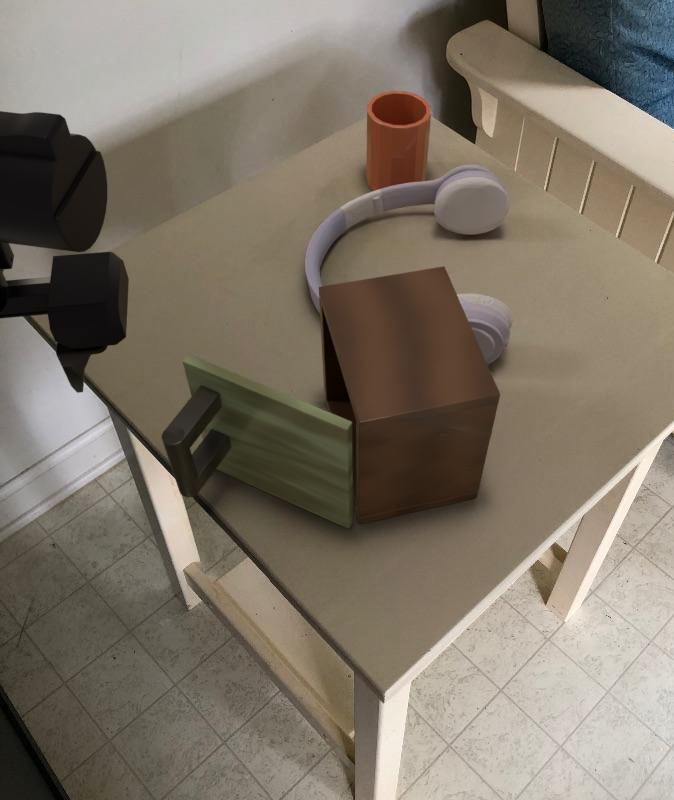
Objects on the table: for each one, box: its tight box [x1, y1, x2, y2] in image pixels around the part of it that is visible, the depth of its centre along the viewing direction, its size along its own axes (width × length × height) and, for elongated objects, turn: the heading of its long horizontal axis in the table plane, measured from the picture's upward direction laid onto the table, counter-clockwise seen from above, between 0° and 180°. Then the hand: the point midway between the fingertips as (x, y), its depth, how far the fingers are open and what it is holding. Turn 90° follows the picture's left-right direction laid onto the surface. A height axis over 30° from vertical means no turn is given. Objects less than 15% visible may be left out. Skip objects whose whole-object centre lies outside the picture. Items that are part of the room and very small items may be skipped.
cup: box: [365, 90, 432, 192], centre depth 89 cm, size 7×7×9 cm
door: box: [161, 353, 354, 529], centre depth 60 cm, size 6×13×14 cm, turn 65°
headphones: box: [304, 164, 513, 366], centre depth 80 cm, size 22×7×20 cm
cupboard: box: [319, 266, 501, 525], centre depth 65 cm, size 10×13×14 cm
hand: (11, 394), depth 56 cm, fingers open, 9 cm apart
